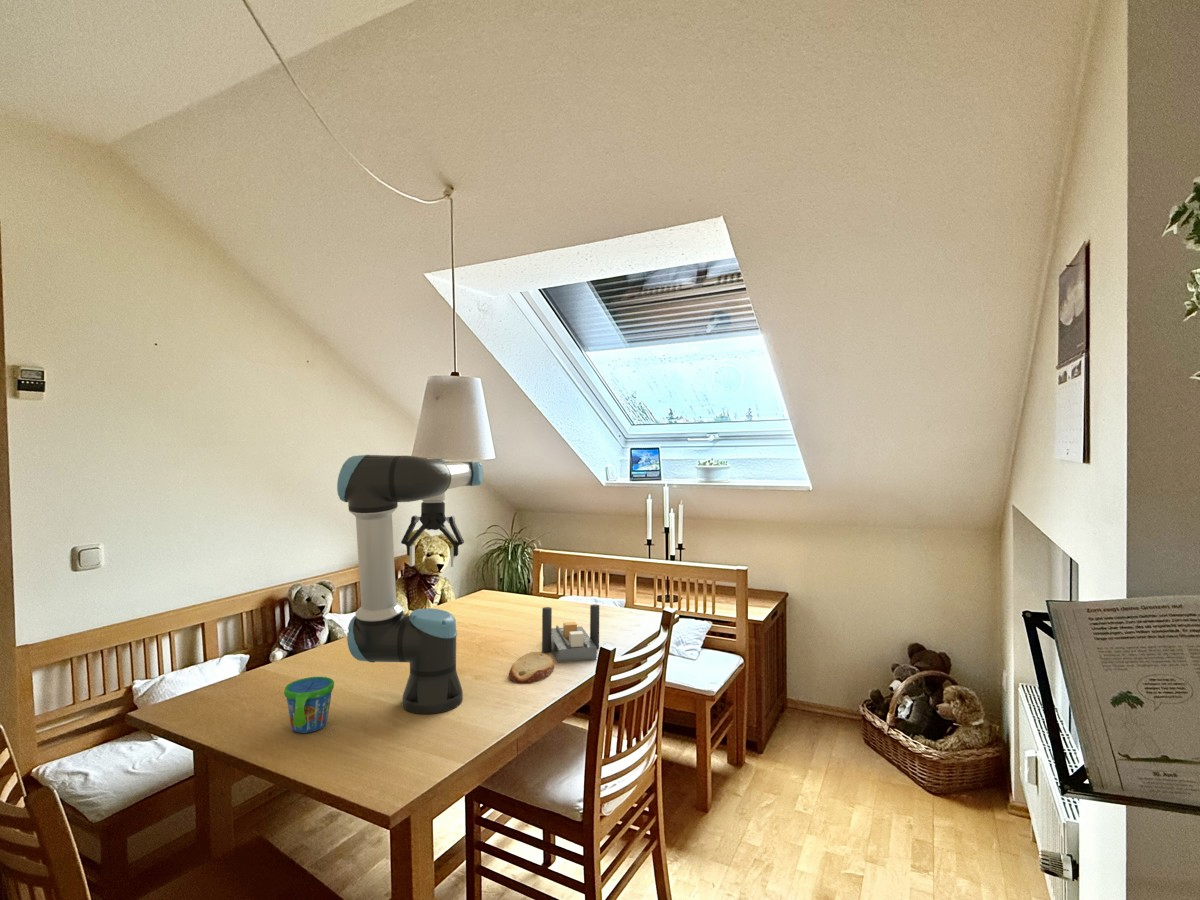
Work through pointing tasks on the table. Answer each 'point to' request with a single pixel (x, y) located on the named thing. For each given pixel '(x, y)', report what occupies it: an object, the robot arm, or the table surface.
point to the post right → (594, 624)
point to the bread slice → (531, 668)
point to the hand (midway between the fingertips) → (432, 565)
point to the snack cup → (309, 703)
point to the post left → (546, 629)
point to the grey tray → (571, 653)
